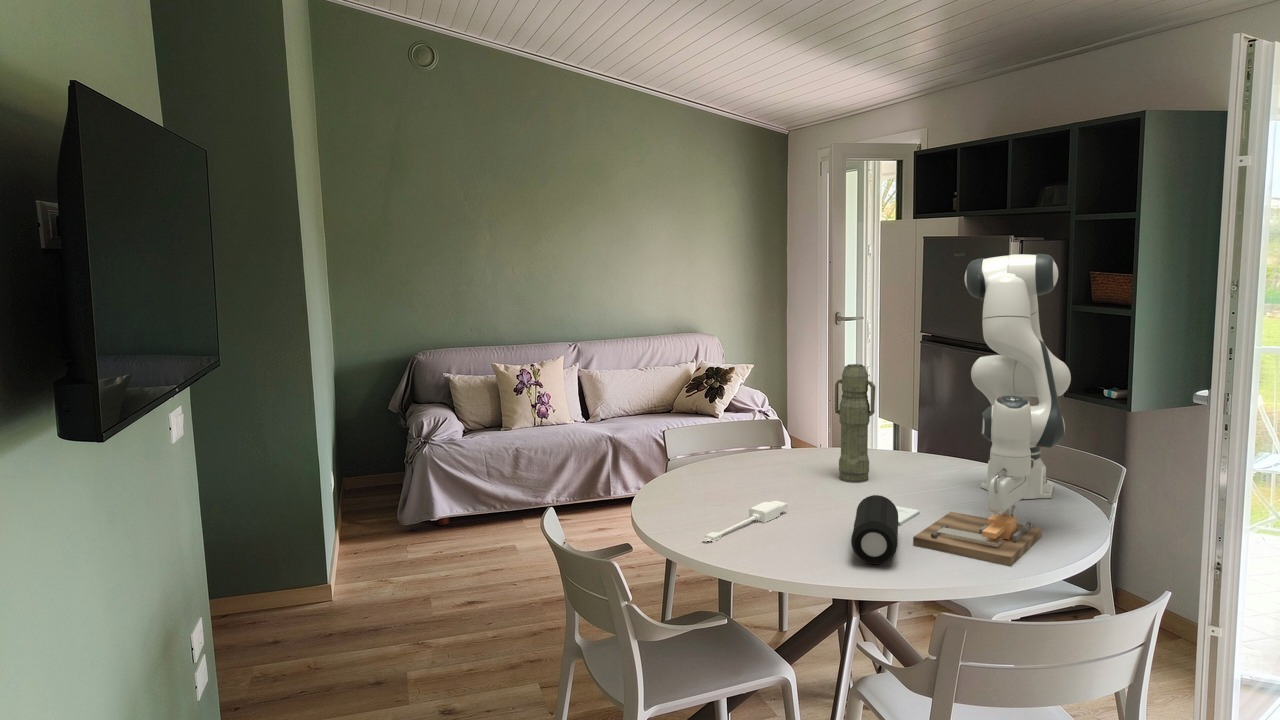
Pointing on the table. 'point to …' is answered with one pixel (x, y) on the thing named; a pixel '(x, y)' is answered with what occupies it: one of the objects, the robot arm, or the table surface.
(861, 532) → the portable speaker
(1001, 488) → the robot arm
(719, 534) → the charging cable
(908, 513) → the external hard drive
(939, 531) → the grey flat bar
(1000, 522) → the bolt
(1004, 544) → the base
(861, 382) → the thermos
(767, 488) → the table surface
